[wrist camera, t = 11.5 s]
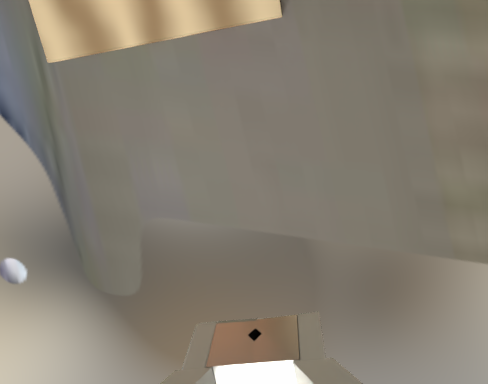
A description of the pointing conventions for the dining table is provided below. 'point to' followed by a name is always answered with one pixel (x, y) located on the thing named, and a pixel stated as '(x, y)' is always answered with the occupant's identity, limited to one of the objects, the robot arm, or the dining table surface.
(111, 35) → the oak board
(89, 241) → the dining table surface
